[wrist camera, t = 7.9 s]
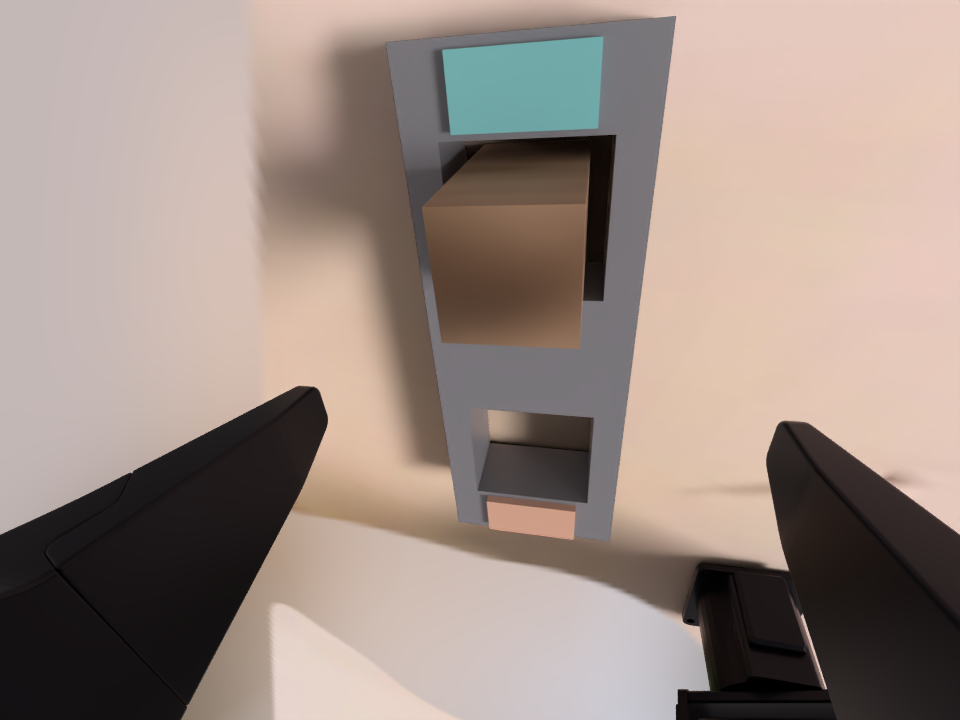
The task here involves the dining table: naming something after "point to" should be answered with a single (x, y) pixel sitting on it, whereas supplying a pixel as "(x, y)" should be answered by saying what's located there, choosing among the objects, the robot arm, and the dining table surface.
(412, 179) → the socket strip
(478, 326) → the brown wooden block
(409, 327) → the dining table surface
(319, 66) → the dining table surface
